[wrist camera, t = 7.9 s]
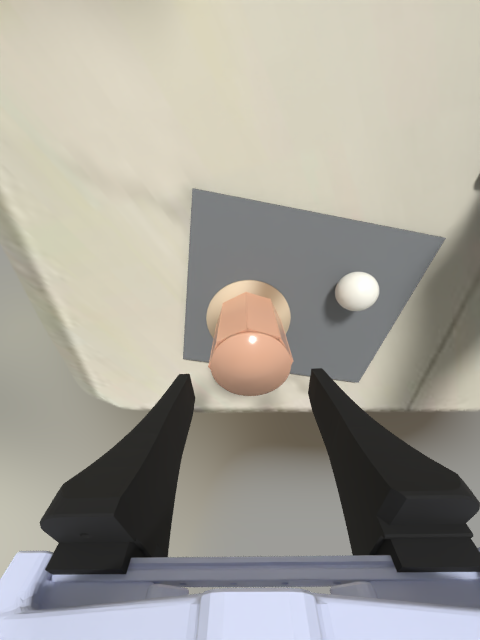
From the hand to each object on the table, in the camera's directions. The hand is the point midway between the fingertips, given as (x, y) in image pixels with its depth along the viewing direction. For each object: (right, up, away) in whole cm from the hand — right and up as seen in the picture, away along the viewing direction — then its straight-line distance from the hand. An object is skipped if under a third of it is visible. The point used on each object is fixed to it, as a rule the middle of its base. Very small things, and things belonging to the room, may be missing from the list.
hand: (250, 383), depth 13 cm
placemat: (+4, +5, +8) cm, 10 cm away
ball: (+9, +6, +5) cm, 12 cm away
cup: (0, +4, +8) cm, 9 cm away
